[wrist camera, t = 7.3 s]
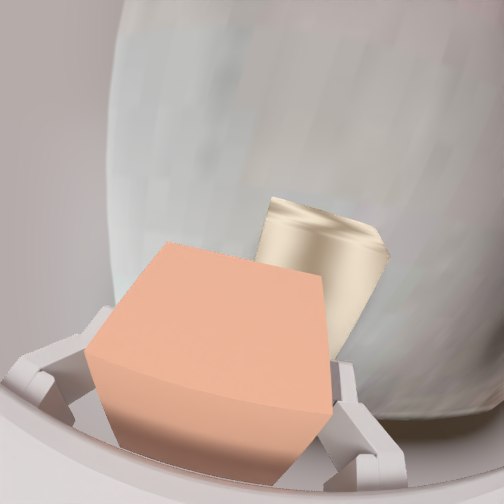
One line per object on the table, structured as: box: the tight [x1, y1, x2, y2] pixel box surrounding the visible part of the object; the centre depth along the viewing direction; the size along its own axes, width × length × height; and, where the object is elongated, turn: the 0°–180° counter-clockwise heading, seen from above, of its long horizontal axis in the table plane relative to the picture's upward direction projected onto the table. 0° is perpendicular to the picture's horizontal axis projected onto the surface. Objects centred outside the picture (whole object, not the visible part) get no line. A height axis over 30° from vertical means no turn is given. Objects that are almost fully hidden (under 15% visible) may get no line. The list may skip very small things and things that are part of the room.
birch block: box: [255, 197, 390, 360], centre depth 27 cm, size 10×12×6 cm
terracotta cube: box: [84, 242, 333, 486], centre depth 8 cm, size 5×5×5 cm
